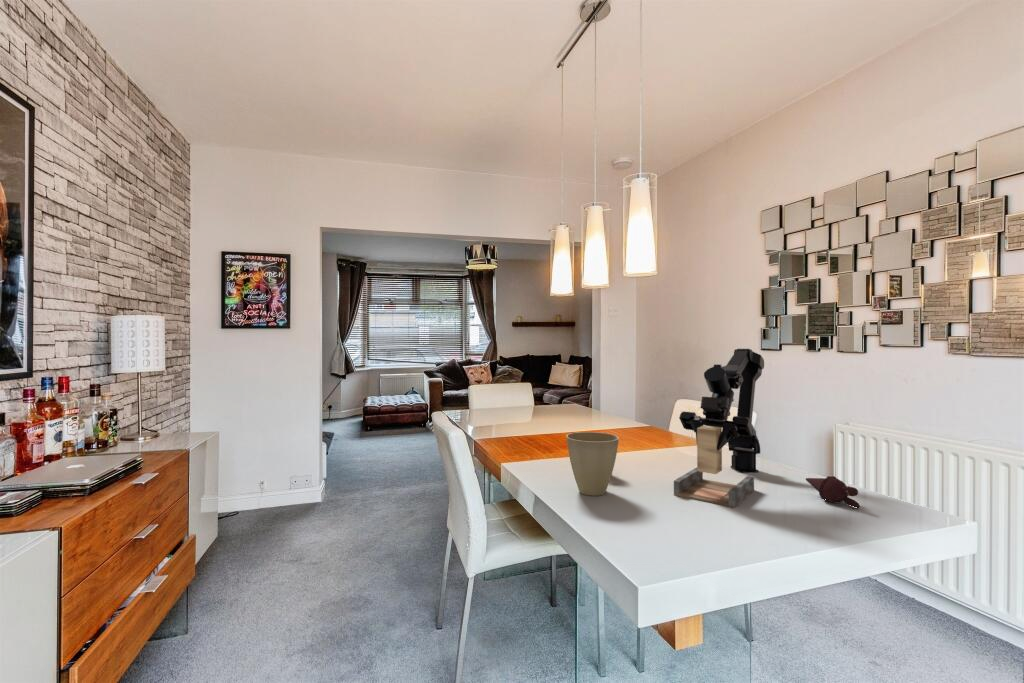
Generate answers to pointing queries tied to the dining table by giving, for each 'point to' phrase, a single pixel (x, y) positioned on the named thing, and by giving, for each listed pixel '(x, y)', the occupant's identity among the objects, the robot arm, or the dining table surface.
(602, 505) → the dining table surface
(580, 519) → the dining table surface
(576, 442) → the plant pot
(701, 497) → the bay
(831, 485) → the icecream
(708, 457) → the oak block
